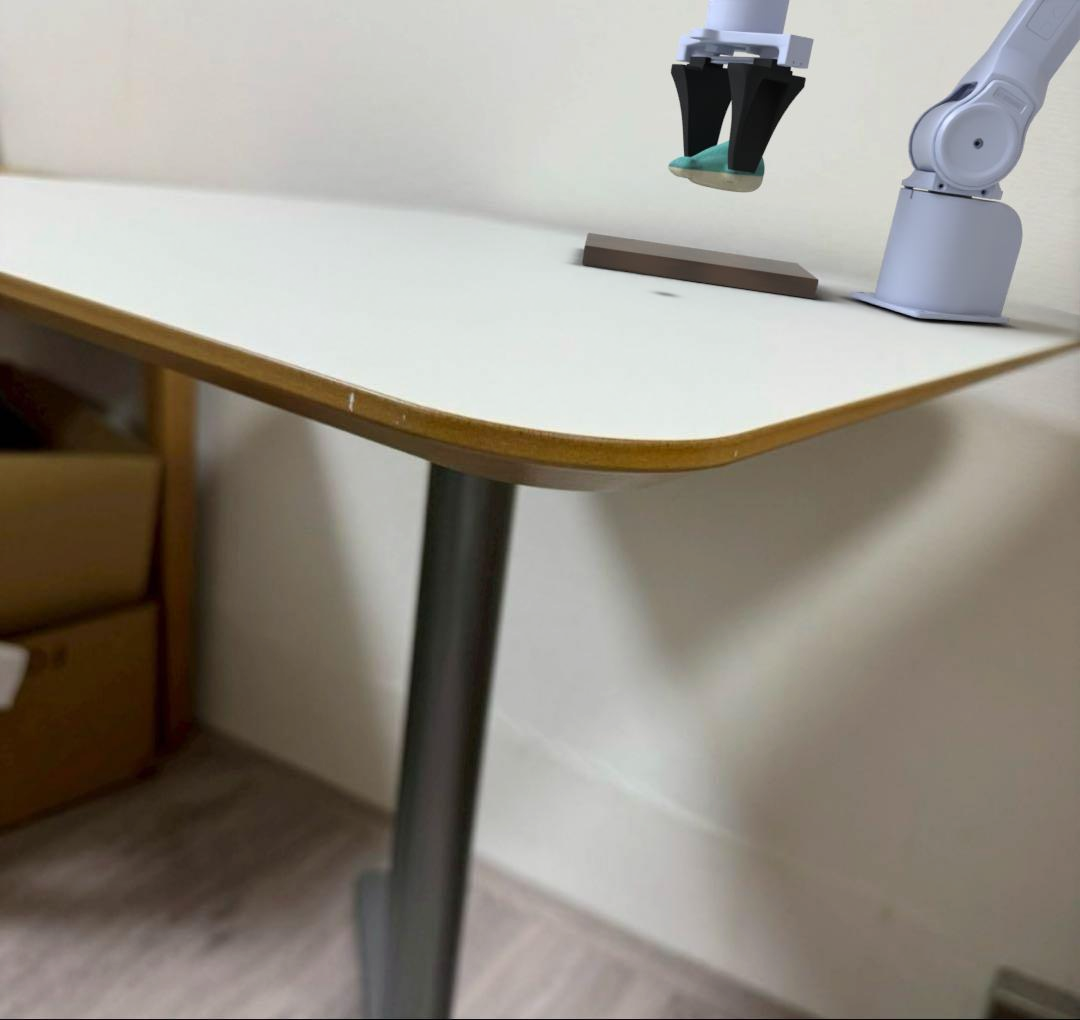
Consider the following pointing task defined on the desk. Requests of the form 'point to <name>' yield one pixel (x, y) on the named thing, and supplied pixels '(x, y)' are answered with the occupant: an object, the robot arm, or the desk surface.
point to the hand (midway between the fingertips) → (718, 167)
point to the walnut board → (698, 265)
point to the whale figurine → (716, 171)
